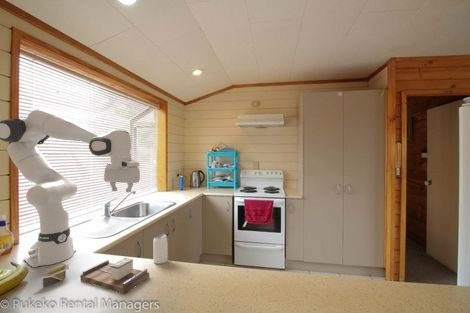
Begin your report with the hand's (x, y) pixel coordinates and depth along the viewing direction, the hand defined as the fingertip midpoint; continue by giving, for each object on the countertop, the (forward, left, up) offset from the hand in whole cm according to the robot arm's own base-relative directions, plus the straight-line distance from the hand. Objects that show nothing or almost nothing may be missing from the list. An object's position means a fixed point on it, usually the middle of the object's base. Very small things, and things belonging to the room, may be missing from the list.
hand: (121, 191), depth 105 cm
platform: (-11, -22, -35) cm, 43 cm away
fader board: (+10, -12, -34) cm, 37 cm away
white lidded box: (+14, -12, -31) cm, 36 cm away
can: (+17, +7, -34) cm, 39 cm away
